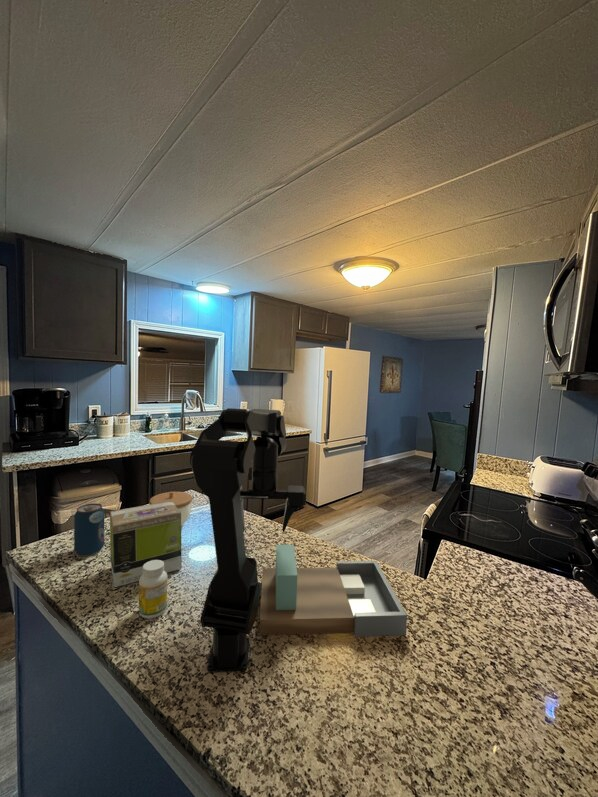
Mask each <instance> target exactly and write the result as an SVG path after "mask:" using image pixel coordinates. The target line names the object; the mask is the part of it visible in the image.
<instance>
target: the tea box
mask: <svg viewBox="0 0 598 797" xmlns="http://www.w3.org/2000/svg"><path fill="white" fill-rule="evenodd" d="M109 527H110V528H109V531H110V532H109V536H110V541H109V542H110V547H109V548H110V549H109V552H110V567H111V573H112V582H113V587H114V588H118V587H121V586H124V585H128V584H132V583H135V582H139V579H140V577H141V576H142V575H143V565H144V564H145V563H147V562H149V561H152V560H161V561H163V562H164V571H165V572H166V573H167V574H168V573H170V572H175V571H179V570H181V569H182V566H183V565H182V563H183V562H182V527H181V513H180V511H179V510H178V509H177V507H176V506H175V504H174V503H173V502H172V501H166V502H161V503H155V504H150V503H149V504H145V505H139V506H135V507H134V506H133V507H129V508H123V509H118V510H117V509H116V510H111V511H109Z"/></svg>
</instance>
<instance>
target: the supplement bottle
mask: <svg viewBox="0 0 598 797" xmlns="http://www.w3.org/2000/svg"><path fill="white" fill-rule="evenodd" d="M167 608H168V573H166V572H165V571H164V562H163V561H161V560H152V561H149V562H147V563H145V564H144V565H143V575H142V576H141V577H140V579H139V581H138V613H139V616H140V617H142V618H144V619H155V618H157V617H159V616H161V615H162V614H164V613H165V611H166V610H167Z"/></svg>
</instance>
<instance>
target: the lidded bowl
mask: <svg viewBox="0 0 598 797" xmlns="http://www.w3.org/2000/svg"><path fill="white" fill-rule="evenodd" d="M192 500H193V496H192V495H191V494H190V493H188V492H185V491H168V492H162V493H159V494H156V495H154V496H151V498H150V499H149V505H150V504H155V503H161V502H166V501H172V502H173V503H174V504H175V506H176V507H177V509H178V510H179V511H180V513H181V528H183V526H184V524H185V523H187V521H188V520H189V517H190V515H191V512H192V502H193V501H192Z"/></svg>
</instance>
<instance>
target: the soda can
mask: <svg viewBox="0 0 598 797" xmlns="http://www.w3.org/2000/svg"><path fill="white" fill-rule="evenodd" d="M73 526H74V527H73V541H74V542H73V545H74V546H73V550H74V552H75V553H76V554H77V556H81V557H87V556H89V557H90V556H93V555H95V554H97V553H99V552H101V550H103V547H104V545H105V510H104V508H103V506H102V504H100V503H86V504H84V505H81V506H78V507H76V512H75V513H74V514H73Z"/></svg>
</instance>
